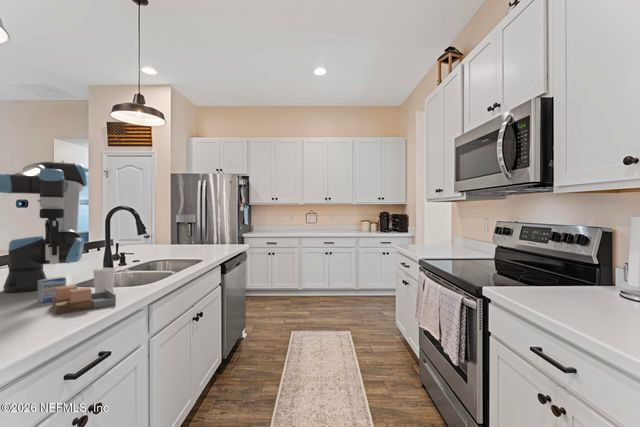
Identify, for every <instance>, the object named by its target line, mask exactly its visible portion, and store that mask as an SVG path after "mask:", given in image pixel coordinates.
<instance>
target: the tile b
mask: <svg viewBox="0 0 640 427" xmlns="http://www.w3.org/2000/svg"><path fill="white" fill-rule="evenodd" d="M91 294H92V288H91V287H90V286H88V287H79V288H78V287H77V289H71V290H69V301H70V303H76V302H83V301H89V300H91Z"/></svg>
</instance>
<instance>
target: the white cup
mask: <svg viewBox="0 0 640 427" xmlns="http://www.w3.org/2000/svg"><path fill="white" fill-rule="evenodd" d="M115 273H116V268H115V267H102V268H101V267H99V268H95V269H93V287H94V293H99V292H105V288H107V289H109V290H110V291H113V292H114V290H115V289H114V285H115V277H116V276H115V275H116V274H115Z"/></svg>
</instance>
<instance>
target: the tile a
mask: <svg viewBox="0 0 640 427" xmlns="http://www.w3.org/2000/svg"><path fill="white" fill-rule="evenodd" d="M71 289H78V285H76V284H70V285H66V286H61V287H56V299H57V300H63V299H69V290H71Z"/></svg>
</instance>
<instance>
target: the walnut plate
mask: <svg viewBox="0 0 640 427" xmlns="http://www.w3.org/2000/svg"><path fill="white" fill-rule="evenodd" d="M51 306H52V309H53V311H54V312H55V314H56V315H63V314H64V315H65V314H69V313H74V312H81V311H85V310H92V309H93V299H92V298H91V300H89V301H83V302H76V303H70V301H69V299H63V300H57V299H56V298H52V301H51Z"/></svg>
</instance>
